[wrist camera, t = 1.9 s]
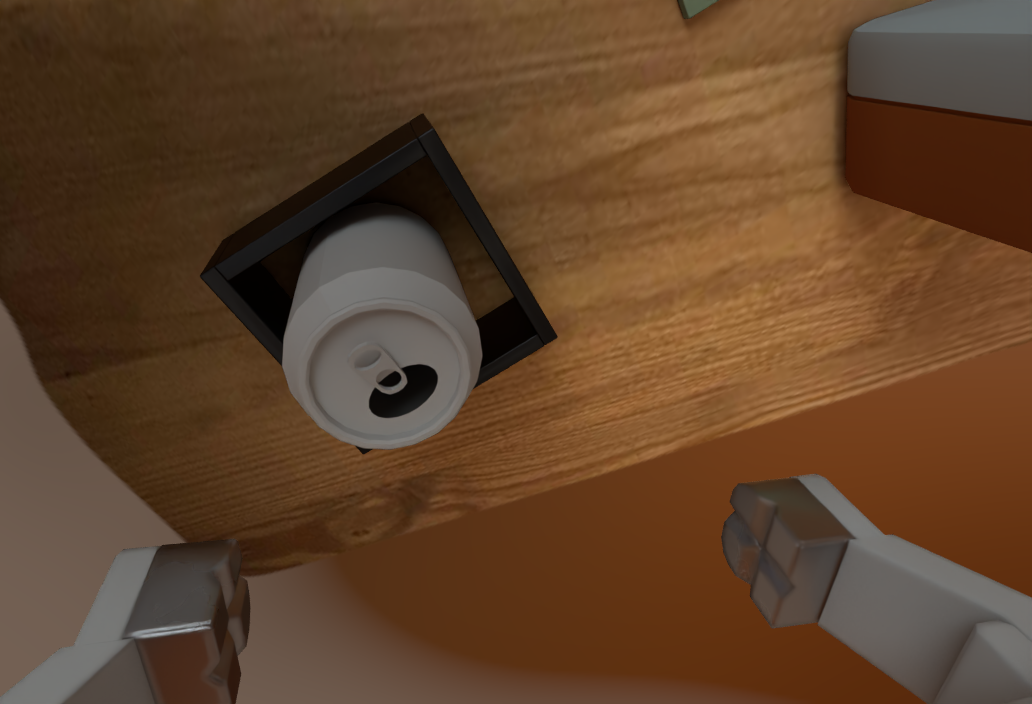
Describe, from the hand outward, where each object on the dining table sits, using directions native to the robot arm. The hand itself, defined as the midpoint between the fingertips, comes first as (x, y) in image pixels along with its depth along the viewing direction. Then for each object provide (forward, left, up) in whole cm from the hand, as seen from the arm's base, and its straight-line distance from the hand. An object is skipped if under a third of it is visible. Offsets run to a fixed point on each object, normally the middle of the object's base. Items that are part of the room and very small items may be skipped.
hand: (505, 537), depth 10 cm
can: (+2, -4, -25) cm, 25 cm away
